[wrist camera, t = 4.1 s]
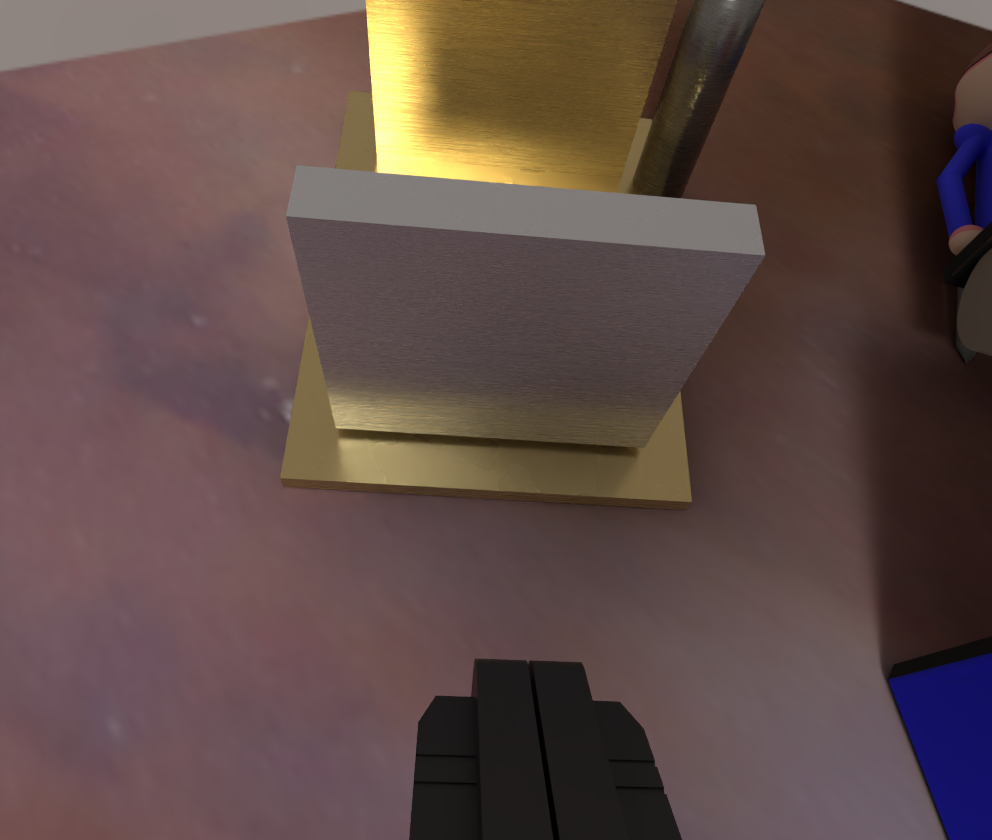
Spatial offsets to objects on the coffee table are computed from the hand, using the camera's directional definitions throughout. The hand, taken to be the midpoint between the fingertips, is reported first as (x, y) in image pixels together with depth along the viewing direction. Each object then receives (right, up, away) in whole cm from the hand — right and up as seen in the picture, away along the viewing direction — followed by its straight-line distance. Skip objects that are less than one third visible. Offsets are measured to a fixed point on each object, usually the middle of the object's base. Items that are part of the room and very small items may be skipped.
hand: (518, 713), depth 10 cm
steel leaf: (0, +4, +10) cm, 11 cm away
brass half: (0, +9, +13) cm, 16 cm away
